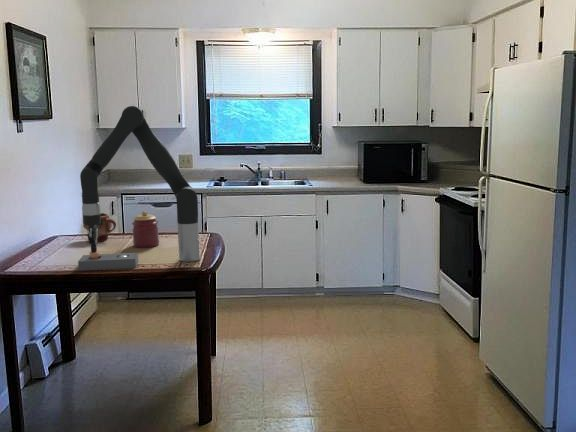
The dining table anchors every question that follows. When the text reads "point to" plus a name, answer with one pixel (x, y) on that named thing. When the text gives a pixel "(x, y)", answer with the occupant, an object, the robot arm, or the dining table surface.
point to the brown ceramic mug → (103, 227)
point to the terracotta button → (94, 255)
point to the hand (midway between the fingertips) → (94, 252)
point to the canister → (145, 231)
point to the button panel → (108, 261)
